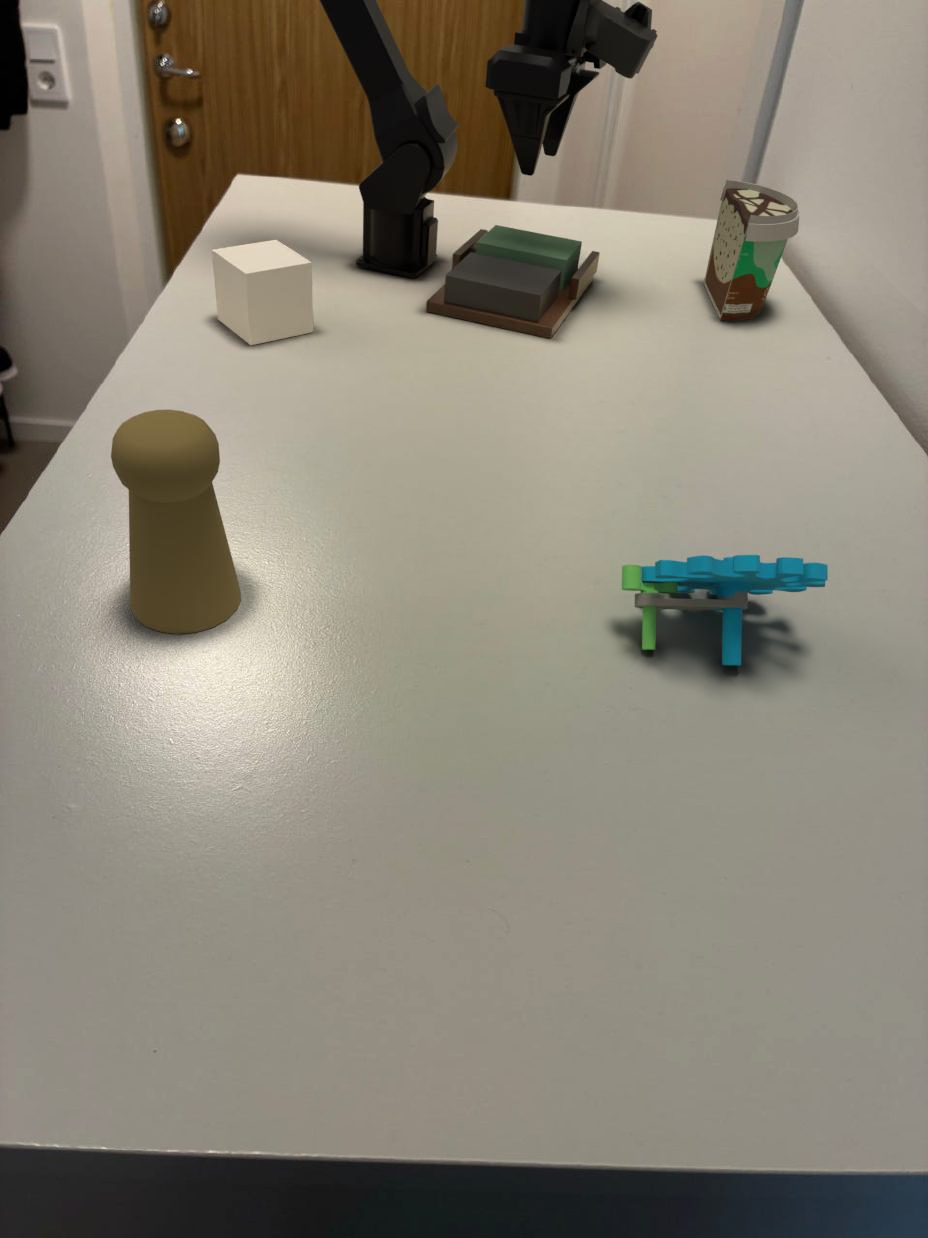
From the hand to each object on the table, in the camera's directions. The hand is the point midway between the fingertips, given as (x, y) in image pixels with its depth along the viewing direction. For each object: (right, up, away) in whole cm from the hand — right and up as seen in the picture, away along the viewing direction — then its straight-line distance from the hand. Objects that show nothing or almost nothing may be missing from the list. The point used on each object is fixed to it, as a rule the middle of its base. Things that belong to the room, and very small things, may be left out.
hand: (539, 164), depth 88 cm
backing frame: (-2, -11, +4) cm, 12 cm away
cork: (-23, -41, -34) cm, 58 cm away
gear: (+7, -43, -33) cm, 54 cm away
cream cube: (-24, -17, -6) cm, 30 cm away
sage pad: (-1, -8, +6) cm, 10 cm away
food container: (+21, -11, +7) cm, 25 cm away
